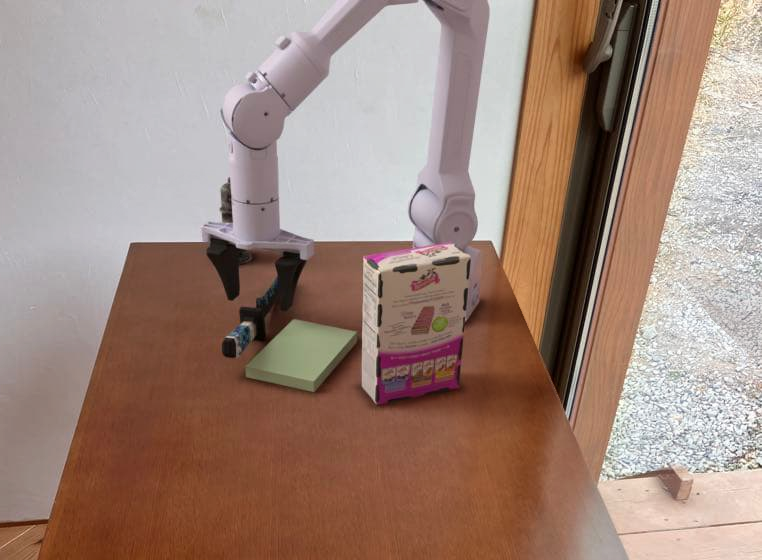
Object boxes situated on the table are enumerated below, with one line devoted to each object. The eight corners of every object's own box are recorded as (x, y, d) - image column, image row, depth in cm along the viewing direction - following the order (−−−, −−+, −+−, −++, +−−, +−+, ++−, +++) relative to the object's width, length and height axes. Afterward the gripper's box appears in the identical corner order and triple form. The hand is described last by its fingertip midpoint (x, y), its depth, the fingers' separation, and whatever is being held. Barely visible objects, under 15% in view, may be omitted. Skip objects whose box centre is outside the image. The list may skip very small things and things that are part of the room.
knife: (233, 376, 105) (233, 340, 102) (209, 373, 105) (208, 337, 102) (303, 297, 130) (304, 267, 127) (283, 295, 130) (283, 264, 128)
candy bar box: (440, 370, 110) (452, 239, 99) (459, 389, 106) (474, 256, 96) (357, 386, 106) (361, 253, 96) (375, 407, 103) (380, 270, 92)
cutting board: (356, 342, 115) (357, 331, 114) (314, 392, 105) (314, 381, 104) (293, 329, 117) (293, 318, 116) (245, 377, 107) (245, 366, 106)
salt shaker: (210, 263, 133) (203, 181, 126) (221, 249, 138) (215, 169, 130) (248, 267, 133) (243, 185, 125) (258, 252, 137) (254, 172, 130)
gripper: (185, 197, 105) (195, 304, 114) (296, 216, 102) (298, 325, 110) (213, 180, 110) (221, 284, 119) (320, 197, 107) (320, 303, 115)
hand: (259, 302), depth 115 cm, fingers open, 7 cm apart
